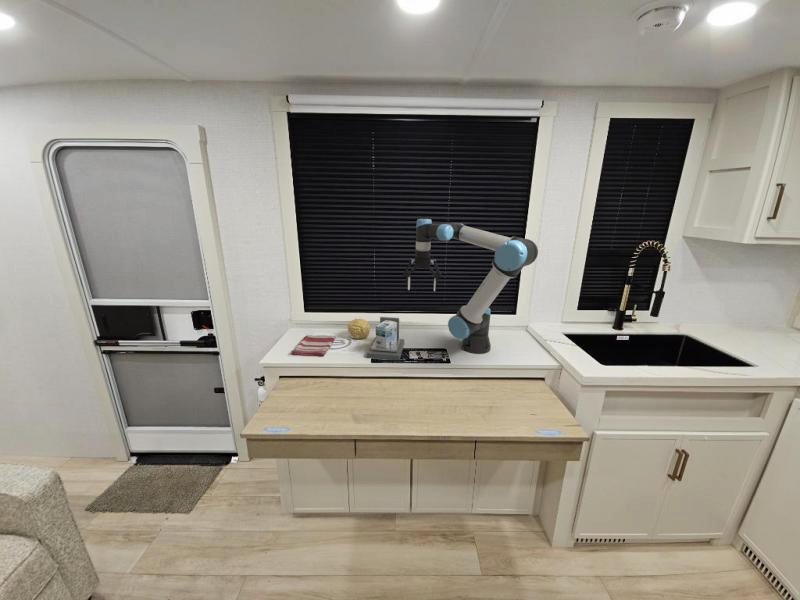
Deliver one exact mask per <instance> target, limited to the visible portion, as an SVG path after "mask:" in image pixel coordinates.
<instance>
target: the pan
mask: <svg viewBox="0 0 800 600" xmlns="http://www.w3.org/2000/svg"><path fill="white" fill-rule="evenodd" d="M374 339H375V338H374ZM400 339H401V338H399V339H397V342H395V343H394V344H392V345H391V346H389V347H388V348H383V347H379V346H376V339H375V341H374V340H373V341H374V343H373V342H372V343H373V345H372V347H371V350H377V351H391V352H397V351H398V348H399V345H400V341H401V340H400Z"/></svg>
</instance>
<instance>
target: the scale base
mask: <svg viewBox="0 0 800 600" xmlns="http://www.w3.org/2000/svg"><path fill="white" fill-rule="evenodd" d="M385 320H389V321H393V322H397V339H400V340H401V341H400V345H399V348H398V351H397V352H391V351H377V350H371V347H372V345H373V343H374V341H375V339H376V336H374V338H373V341H372V343H371V345H370V347H369V348H368V351H367V352H366V358H367V359H376V360H392V361H400V360H401V356H402V353H403V349H404V345H405V339H404V338H400V317H392V316H391V317H390V316H389V317H388V316H379V324H380V323H382V322H384V321H385Z"/></svg>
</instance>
